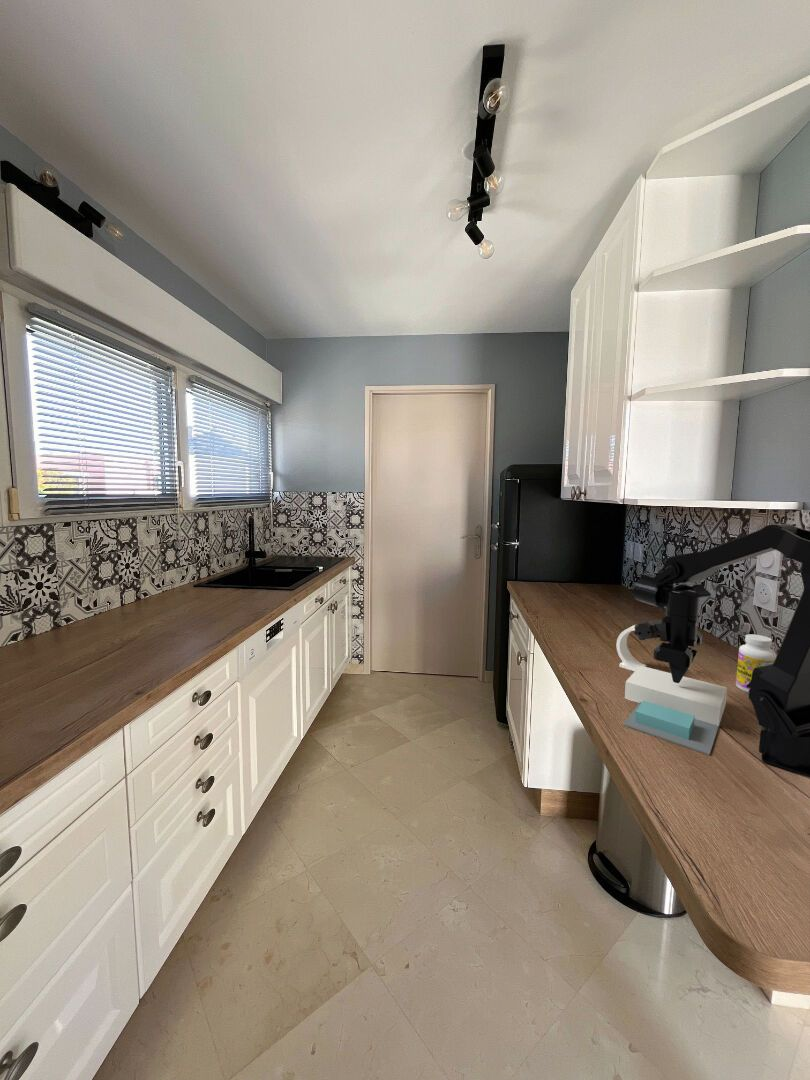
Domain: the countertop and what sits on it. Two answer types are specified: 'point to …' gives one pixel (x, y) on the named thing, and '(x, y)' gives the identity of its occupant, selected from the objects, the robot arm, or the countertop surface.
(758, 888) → the countertop surface
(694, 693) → the tray
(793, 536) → the robot arm
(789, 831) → the countertop surface
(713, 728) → the mat
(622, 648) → the headphone stand
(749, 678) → the supplement bottle
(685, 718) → the teal rectangular block
